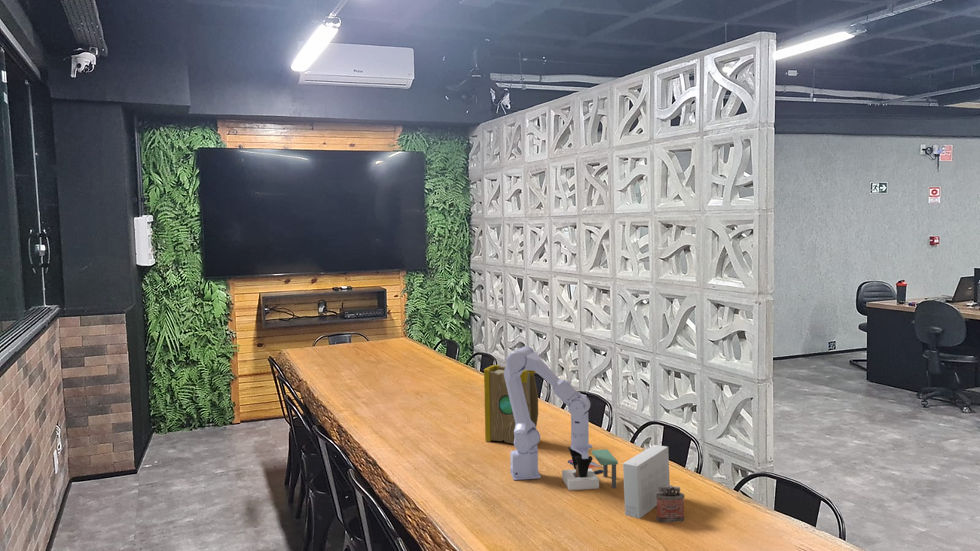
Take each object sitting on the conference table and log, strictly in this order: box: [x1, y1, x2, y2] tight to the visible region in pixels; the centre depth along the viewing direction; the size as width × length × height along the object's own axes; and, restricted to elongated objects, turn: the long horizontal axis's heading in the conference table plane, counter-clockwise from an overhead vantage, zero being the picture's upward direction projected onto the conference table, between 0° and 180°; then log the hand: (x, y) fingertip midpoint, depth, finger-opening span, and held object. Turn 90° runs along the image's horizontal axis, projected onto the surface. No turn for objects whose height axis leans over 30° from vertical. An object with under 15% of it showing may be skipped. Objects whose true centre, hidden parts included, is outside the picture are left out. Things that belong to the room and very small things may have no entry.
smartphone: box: [567, 459, 603, 475], centre depth 243 cm, size 7×15×1 cm, turn 26°
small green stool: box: [591, 449, 619, 489], centre depth 228 cm, size 6×12×9 cm, turn 6°
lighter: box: [655, 484, 685, 523], centre depth 199 cm, size 8×3×10 cm, turn 92°
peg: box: [576, 465, 580, 477], centre depth 227 cm, size 3×3×6 cm
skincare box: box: [622, 444, 671, 519], centre depth 209 cm, size 21×5×16 cm, turn 141°
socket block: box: [561, 469, 600, 491], centre depth 227 cm, size 10×10×3 cm
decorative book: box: [483, 364, 539, 445], centre depth 272 cm, size 20×11×30 cm, turn 63°
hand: (580, 472), depth 227 cm, fingers open, 7 cm apart
